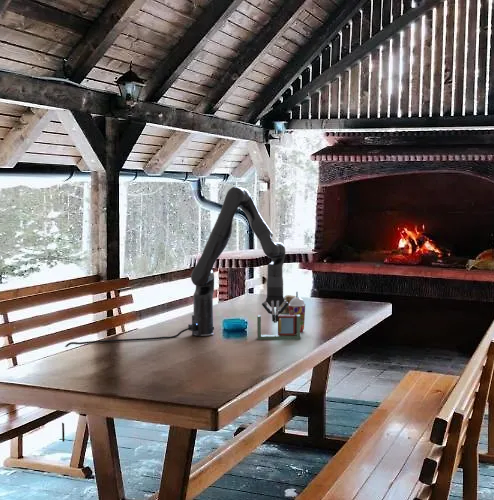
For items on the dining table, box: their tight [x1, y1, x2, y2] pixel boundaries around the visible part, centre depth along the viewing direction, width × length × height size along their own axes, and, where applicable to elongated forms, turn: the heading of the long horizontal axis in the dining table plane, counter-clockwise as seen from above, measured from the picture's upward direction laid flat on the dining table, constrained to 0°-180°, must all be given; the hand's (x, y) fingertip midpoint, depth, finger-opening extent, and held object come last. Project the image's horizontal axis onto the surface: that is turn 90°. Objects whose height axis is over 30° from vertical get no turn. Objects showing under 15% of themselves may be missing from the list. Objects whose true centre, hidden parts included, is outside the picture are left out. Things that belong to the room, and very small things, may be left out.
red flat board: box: [277, 315, 295, 335], centre depth 342 cm, size 4×8×9 cm, turn 92°
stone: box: [279, 294, 296, 314], centre depth 421 cm, size 17×12×10 cm
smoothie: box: [288, 291, 306, 334], centre depth 361 cm, size 8×8×20 cm
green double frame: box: [256, 314, 301, 341], centre depth 345 cm, size 4×20×11 cm, turn 93°
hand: (275, 322), depth 340 cm, fingers closed
